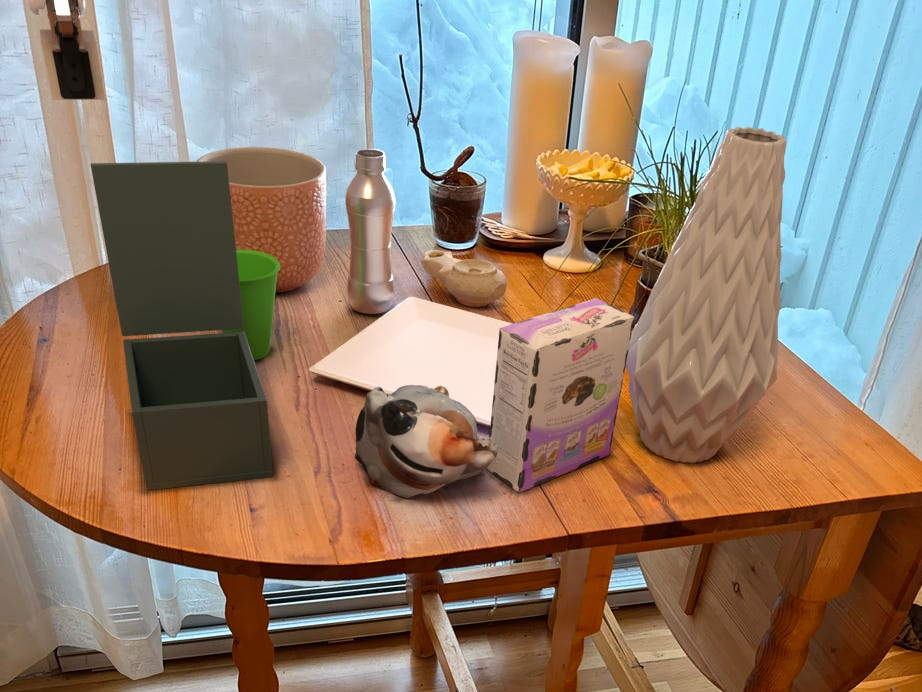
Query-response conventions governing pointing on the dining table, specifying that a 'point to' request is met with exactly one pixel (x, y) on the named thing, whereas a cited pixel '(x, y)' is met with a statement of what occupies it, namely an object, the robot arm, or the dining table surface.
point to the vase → (714, 307)
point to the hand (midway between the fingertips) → (76, 88)
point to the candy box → (557, 391)
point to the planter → (278, 208)
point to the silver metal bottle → (370, 234)
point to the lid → (170, 245)
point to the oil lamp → (466, 277)
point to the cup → (257, 299)
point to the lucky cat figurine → (418, 440)
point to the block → (89, 45)
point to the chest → (198, 410)
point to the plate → (423, 354)
